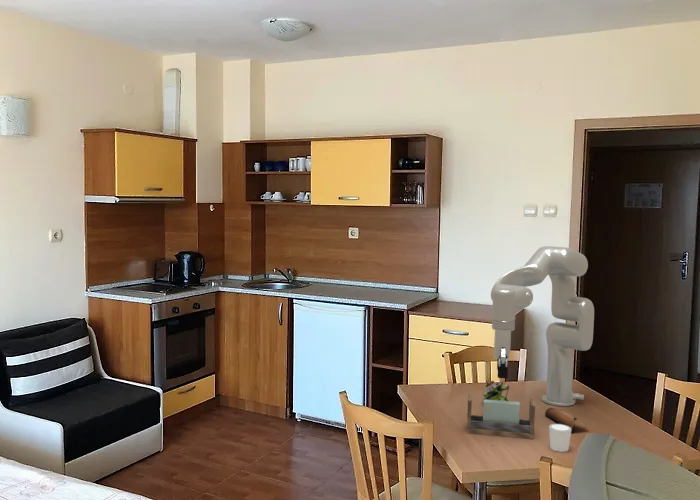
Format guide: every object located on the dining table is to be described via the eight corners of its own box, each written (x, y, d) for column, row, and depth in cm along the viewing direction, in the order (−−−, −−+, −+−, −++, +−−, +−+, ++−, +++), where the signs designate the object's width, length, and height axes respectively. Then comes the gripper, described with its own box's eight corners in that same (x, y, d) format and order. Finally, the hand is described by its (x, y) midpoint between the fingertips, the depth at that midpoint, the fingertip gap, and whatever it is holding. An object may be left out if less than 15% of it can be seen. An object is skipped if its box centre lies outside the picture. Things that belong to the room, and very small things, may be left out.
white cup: (544, 444, 206) (545, 423, 205) (565, 444, 206) (566, 423, 206) (553, 452, 199) (554, 431, 198) (574, 452, 199) (575, 430, 199)
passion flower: (488, 416, 248) (493, 387, 254) (514, 417, 241) (518, 387, 247) (475, 405, 241) (480, 376, 247) (501, 406, 234) (505, 376, 240)
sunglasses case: (594, 431, 218) (586, 416, 216) (578, 443, 216) (570, 427, 215) (564, 414, 235) (557, 399, 234) (549, 424, 234) (542, 410, 233)
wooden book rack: (532, 430, 218) (533, 398, 217) (533, 439, 210) (535, 405, 209) (467, 425, 222) (468, 393, 221) (466, 433, 215) (467, 400, 214)
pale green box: (518, 427, 216) (519, 402, 216) (519, 431, 213) (519, 405, 212) (482, 424, 219) (483, 399, 218) (482, 428, 215) (483, 402, 215)
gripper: (491, 319, 222) (490, 366, 224) (492, 329, 206) (491, 380, 207) (513, 320, 221) (512, 367, 222) (515, 330, 204) (514, 382, 206)
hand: (502, 373), depth 215 cm, fingers open, 9 cm apart
